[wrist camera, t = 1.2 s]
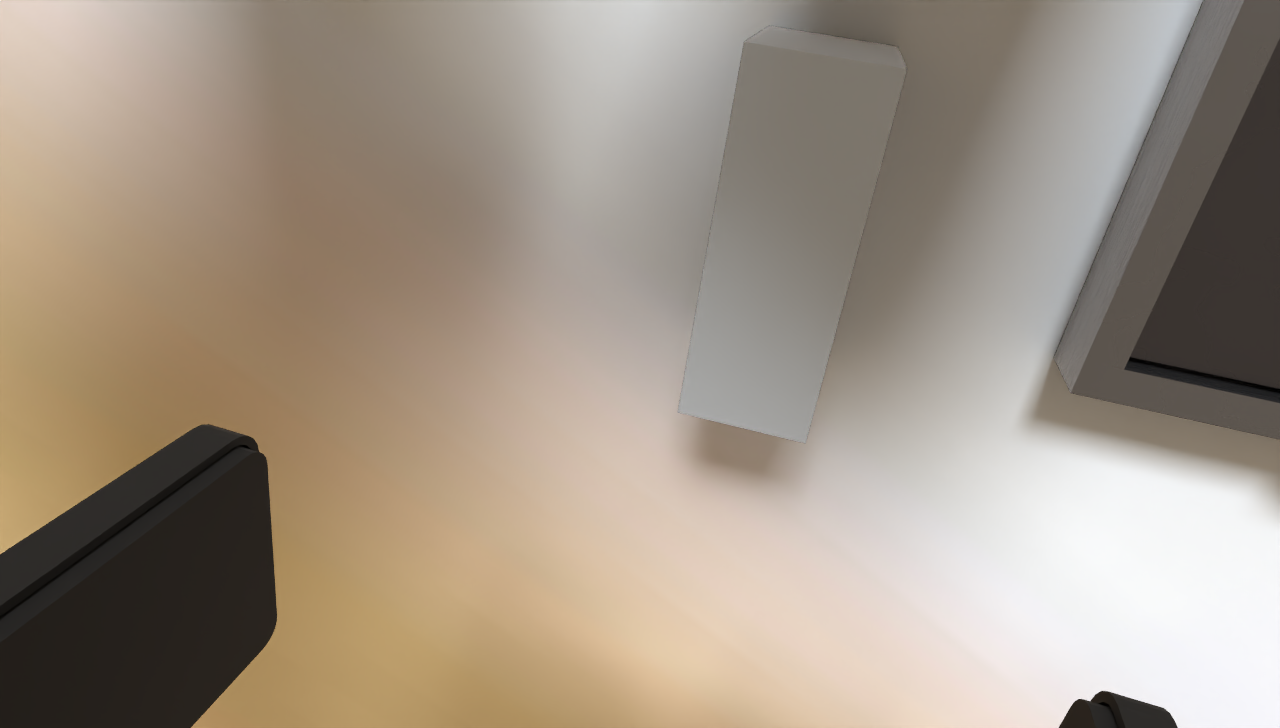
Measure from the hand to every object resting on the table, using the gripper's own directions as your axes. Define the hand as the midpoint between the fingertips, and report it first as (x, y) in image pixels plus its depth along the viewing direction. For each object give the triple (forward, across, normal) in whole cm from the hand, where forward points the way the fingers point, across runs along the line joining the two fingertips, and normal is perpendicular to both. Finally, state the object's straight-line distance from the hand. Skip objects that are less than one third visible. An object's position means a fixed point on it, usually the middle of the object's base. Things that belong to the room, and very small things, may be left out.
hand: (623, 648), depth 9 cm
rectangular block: (+18, 0, -1) cm, 18 cm away
